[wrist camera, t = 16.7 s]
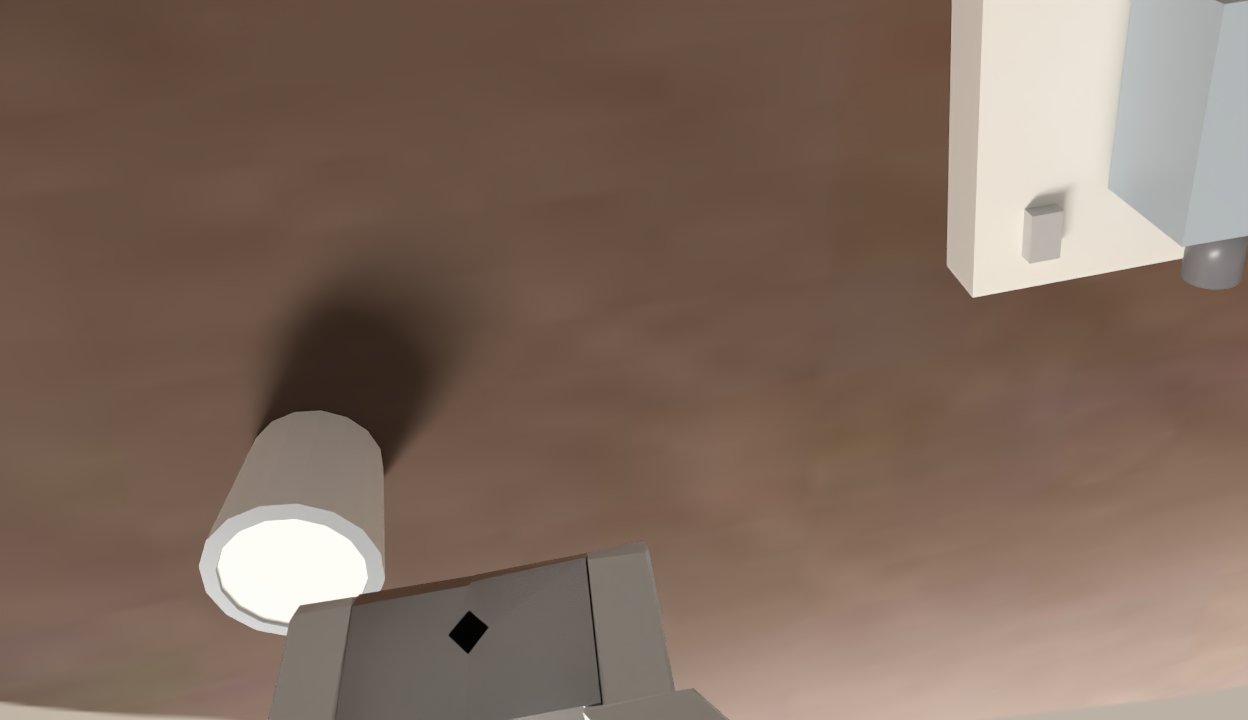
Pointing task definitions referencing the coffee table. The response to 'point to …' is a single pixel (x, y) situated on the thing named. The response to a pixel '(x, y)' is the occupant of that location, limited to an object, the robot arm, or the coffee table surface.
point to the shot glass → (299, 522)
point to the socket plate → (1039, 146)
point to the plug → (1187, 131)
